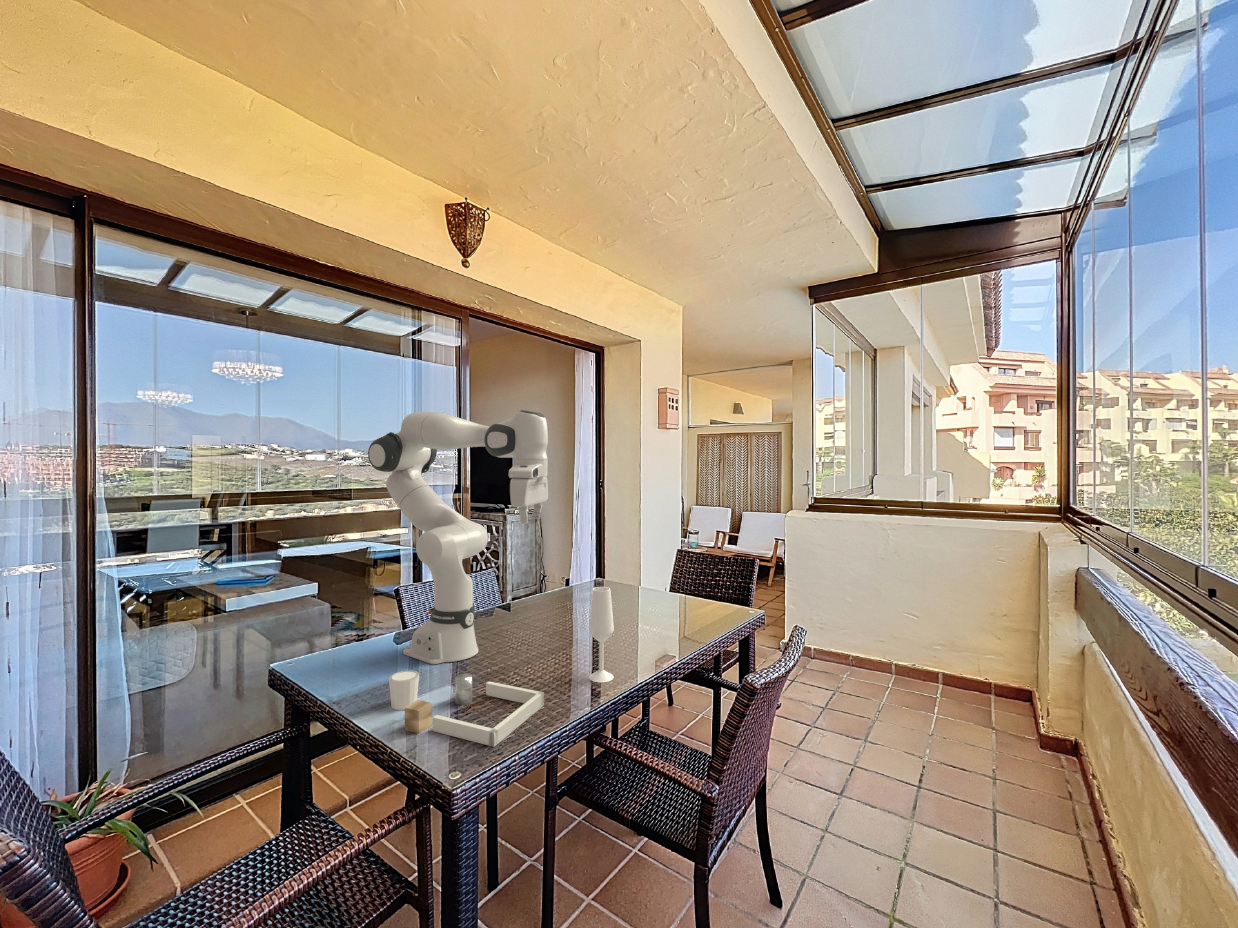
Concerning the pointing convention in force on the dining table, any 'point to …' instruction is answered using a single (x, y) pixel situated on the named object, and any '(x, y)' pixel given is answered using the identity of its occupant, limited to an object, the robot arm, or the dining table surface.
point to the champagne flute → (601, 627)
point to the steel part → (463, 689)
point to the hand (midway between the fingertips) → (530, 521)
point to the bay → (504, 728)
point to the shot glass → (403, 688)
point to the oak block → (418, 716)
